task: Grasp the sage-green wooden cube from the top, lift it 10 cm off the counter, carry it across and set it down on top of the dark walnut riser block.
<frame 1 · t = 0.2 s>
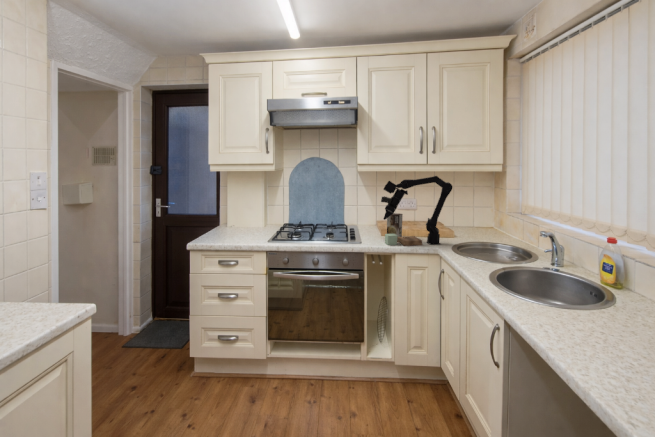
hand: (384, 218, 231), 15 cm above the counter, tool tilted 30°, fingers open, 9 cm apart
coffee box: (394, 237, 243), on the counter
cube: (390, 244, 223), on the counter
riser: (409, 243, 225), on the counter
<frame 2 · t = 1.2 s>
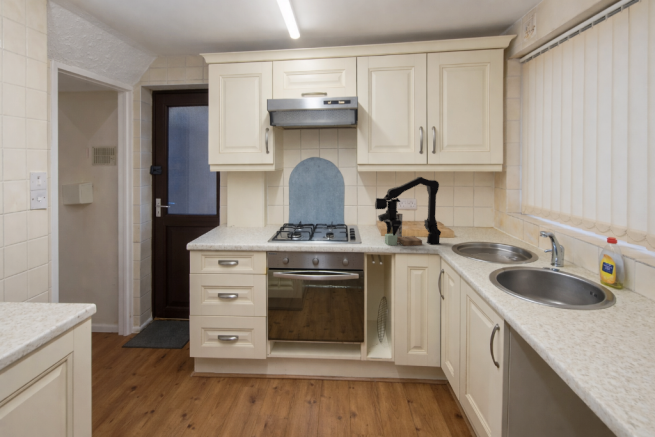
hand: (391, 233, 222), 6 cm above the counter, tool pointing down, fingers open, 9 cm apart
nothing on the counter moved.
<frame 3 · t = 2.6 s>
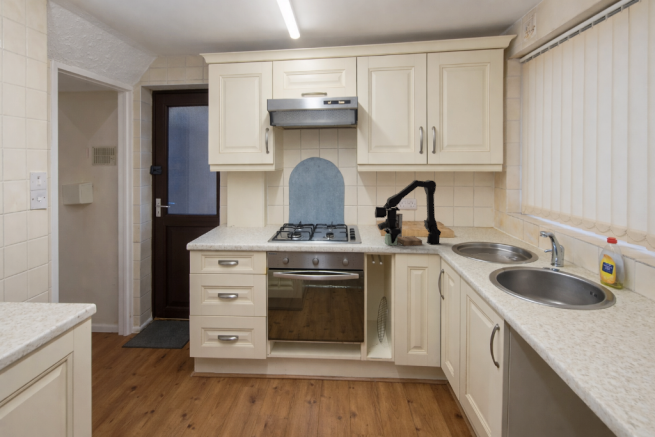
hand: (390, 242, 223), 1 cm above the counter, tool pointing down, fingers closed on cube, 6 cm apart
cube: (390, 243, 223), on the counter, touching gripper
everything else where it was.
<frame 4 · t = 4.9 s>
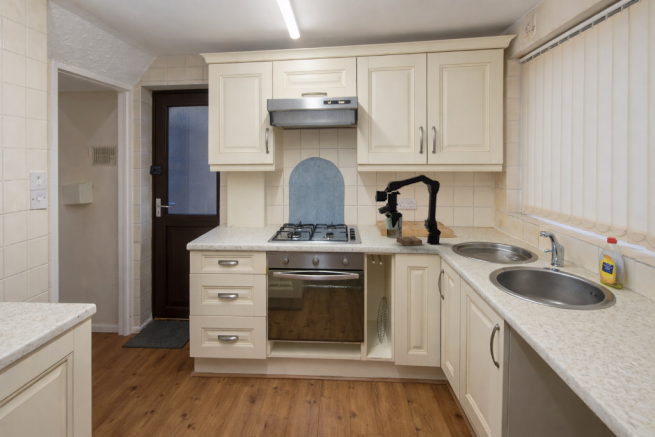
hand: (391, 226, 221), 11 cm above the counter, tool pointing down, fingers closed on cube, 6 cm apart
cube: (391, 228, 221), point 10 cm above the counter, touching gripper
everything else where it was.
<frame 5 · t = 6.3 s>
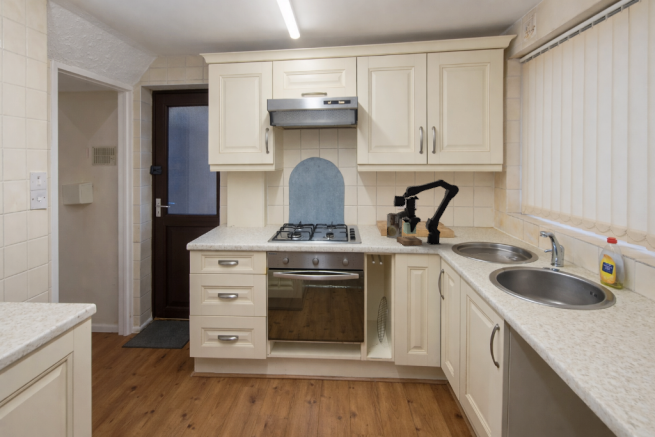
hand: (409, 231, 224), 8 cm above the counter, tool pointing down, fingers closed on cube, 6 cm apart
cube: (409, 232, 224), point 7 cm above the counter, touching gripper
everything else where it was.
when the fingers open (5 cm above the counter, at t = 7.5 s): cube drops 1 cm, resting on riser.
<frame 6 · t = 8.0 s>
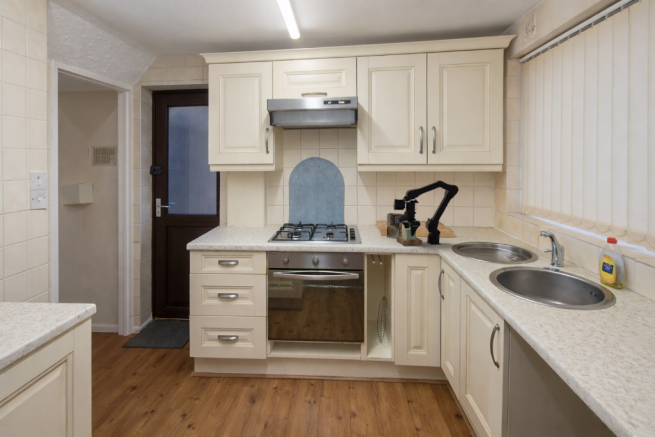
hand: (409, 234, 224), 5 cm above the counter, tool pointing down, fingers open, 9 cm apart
cube: (409, 238, 224), point 3 cm above the counter, touching riser
everything else where it was.
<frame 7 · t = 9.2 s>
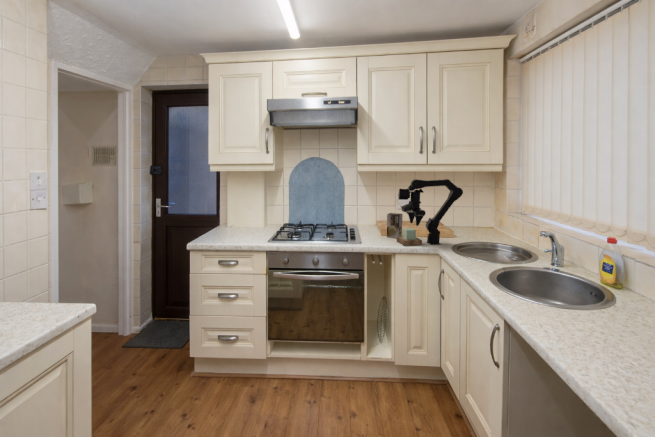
hand: (414, 224, 223), 12 cm above the counter, tool pointing down, fingers open, 9 cm apart
nothing on the counter moved.
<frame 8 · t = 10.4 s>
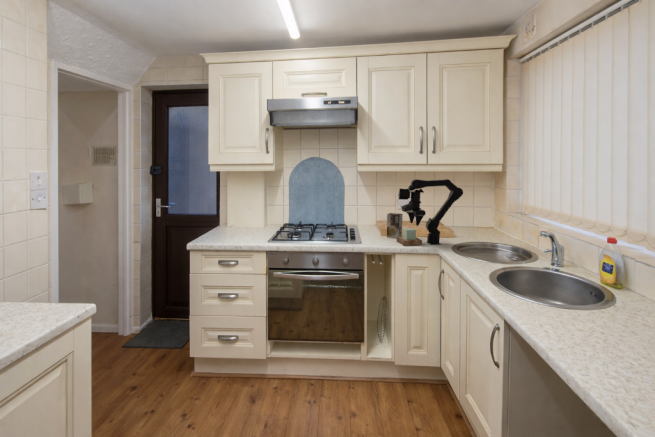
hand: (414, 224, 224), 12 cm above the counter, tool pointing down, fingers open, 9 cm apart
nothing on the counter moved.
at the end: cube inside the target area on the riser (0.0 cm from its centre), point 3.0 cm above the riser's base; cube tilted 0°; the gripper is holding nothing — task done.
